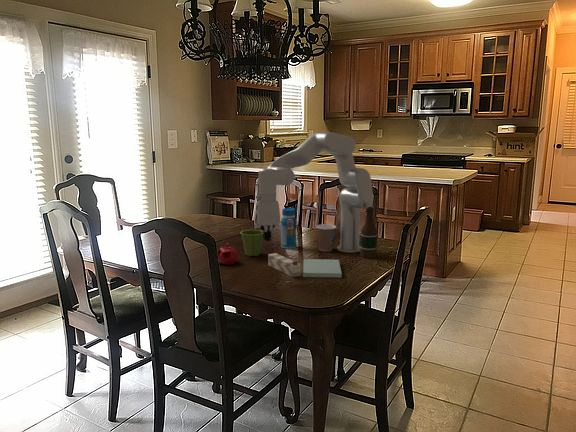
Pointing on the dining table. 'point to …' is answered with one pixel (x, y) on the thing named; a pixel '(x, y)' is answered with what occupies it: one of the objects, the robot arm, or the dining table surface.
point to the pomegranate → (227, 255)
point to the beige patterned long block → (284, 265)
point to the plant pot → (252, 241)
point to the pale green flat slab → (321, 268)
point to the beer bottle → (368, 236)
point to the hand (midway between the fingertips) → (267, 240)
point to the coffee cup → (326, 236)
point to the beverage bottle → (288, 228)
